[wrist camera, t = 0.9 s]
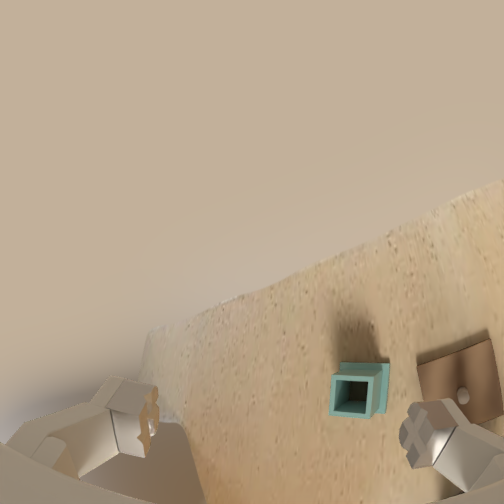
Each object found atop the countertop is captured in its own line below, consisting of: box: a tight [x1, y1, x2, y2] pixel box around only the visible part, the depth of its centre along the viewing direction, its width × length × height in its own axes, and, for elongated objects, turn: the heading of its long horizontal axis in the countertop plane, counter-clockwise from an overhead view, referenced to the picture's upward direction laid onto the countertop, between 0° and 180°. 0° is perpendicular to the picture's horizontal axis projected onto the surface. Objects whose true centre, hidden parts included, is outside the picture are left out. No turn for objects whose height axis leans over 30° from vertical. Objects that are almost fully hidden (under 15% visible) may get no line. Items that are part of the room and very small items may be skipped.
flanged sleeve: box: [329, 362, 390, 419], centre depth 42 cm, size 8×8×8 cm
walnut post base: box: [417, 339, 504, 425], centre depth 34 cm, size 12×12×6 cm
